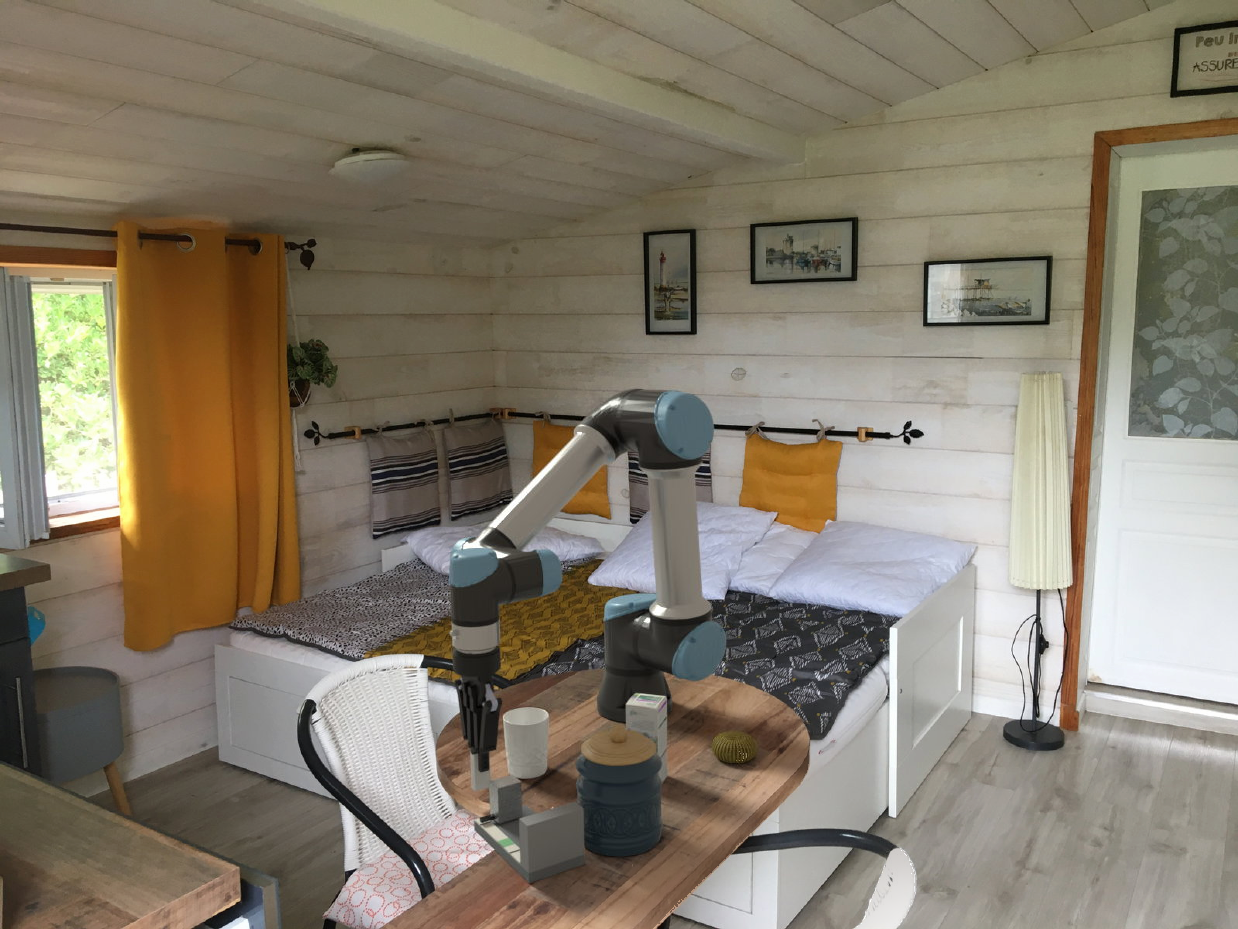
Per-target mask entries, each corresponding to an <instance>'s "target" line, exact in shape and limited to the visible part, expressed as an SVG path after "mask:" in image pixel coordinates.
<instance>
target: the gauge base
mask: <svg viewBox="0 0 1238 929" xmlns="http://www.w3.org/2000/svg"><path fill="white" fill-rule="evenodd" d="M473 822H474V823H473V826H474V827H473V828H474V829H473V830H474V831H475V833H477V834H478V835H479V836H480V837H481V838H482V840H484V841H485V842H486V843H487V844H488V845H489V846H490V847H491V848H492V849H493V850H494V851H495V852H496V853H497V854H498V855H499V856H500V857H502V859H503V860H504V861H505V862H507V864H508V865H510V867H512V868H513V869H514V870H515V871H516V873H518V874H519V876H520V877H521V878H523V879H524V881H526V882H527V884H531V883H534V882H538V881H541V880H542V879H546V878H549V877H552V876H554V875H557V874H560V873H564V872H565V871H568V870H572V869H574V868H578V867H580V866H583V865H585V864H586V858H585V847H584V808H582V807H581V806H580V805H578V802H577V801H573V802H569V803H566V804H563V805H559V806H556V807H553V808H550V809H547V810H546V809H545V810H542V811H540V812H537V813H536V812H535V811H534V810H533V809H531V808H530V807H529V806H528V805H522V817H520V818H517V819H513V820H510V821H507V822H503V823H500V824H498V823H497V822H496V821H495V820H491V821H487V822H484V823H481V822H480V817H479V818H475V819H474V821H473Z"/></svg>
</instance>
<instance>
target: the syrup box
mask: <svg viewBox="0 0 1238 929" xmlns="http://www.w3.org/2000/svg"><path fill="white" fill-rule="evenodd" d="M625 728H626V729H627V730H633V731H636V732H639V733H641V734H643V735H644V736H645V737H647V738H649V739H651V740H652V741H653V742H654V743H655V745H656V752H655V753H657V754H658V755H659V757H660V758H661V760H662V767H661V769H660V771H659V777H660V778H661V780H662V784H664V781H665V780H666V778H667V777H668V774H669V773H668V730H667V729H668V715H667V698H666V696H659V695H650V694H641V693H635V694H634V695H633V696H632V697H631V698H630V699H629V701H628V702H627V703H626V722H625Z"/></svg>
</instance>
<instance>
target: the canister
mask: <svg viewBox="0 0 1238 929" xmlns="http://www.w3.org/2000/svg"><path fill="white" fill-rule="evenodd" d="M580 752H581V754H579V756H578V757H577V759H576V760H575V769H576V770H577V772H578V774H579V775H578V778H577V780H576V782H575V788H576V790H577V791H576V792H577V793H576V794H577V795H576V796H577V801H576V802H577V804H578V805H580V806H581V807H582V808H584V848H585V849H587V850H589V851H590V852H592V853H596V854H598V855H602V856H606V857H607V856H608V857H629V856H630V857H631V856H636V855H640V854H643V853H646V852H647V851H648V852H649V851H650V850H651V849H653V848H655V846H656V845H658V843H659V842H660V841H661V837H662V832H663V828H664V827H663V822H664V820H663V817H662V788H663V783H662V780H661V778H660V777H659V771H660V769H661V767H662V760H661V758H660V757H659V755H658V754H657V753H655V752H656V745H655V743H654V742H653V741H652V740H651V739H649V738H647V737H645V736H644V735H643V734H641V733H639V732H636V731H633V730H627V729H626V726H624V725H622V724H615V725H612V727H611V728H610V729H606V730H603V731H600V732H598V733H597V732H596V734H594V735H593V736H591V737H590V738H588V739H586V740H585V741H584V742H583V743H582V744H581V746H580Z"/></svg>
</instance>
